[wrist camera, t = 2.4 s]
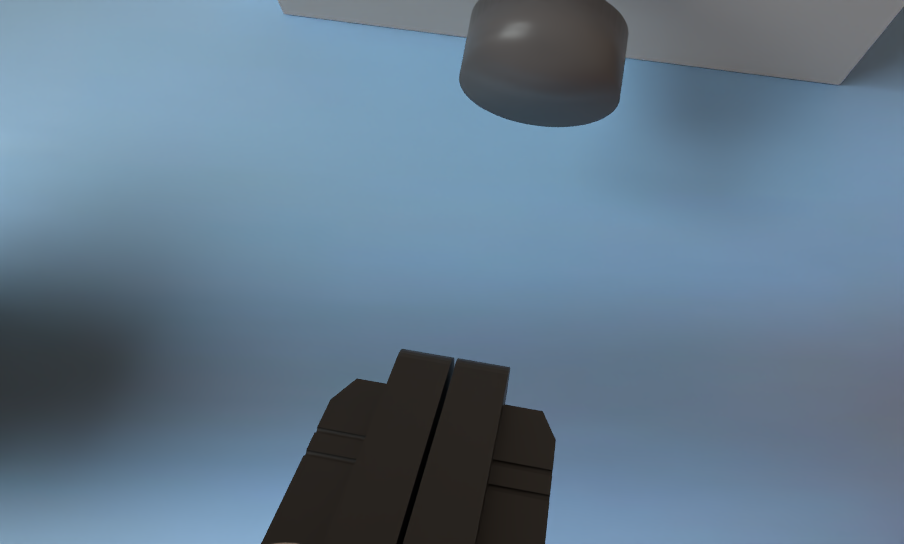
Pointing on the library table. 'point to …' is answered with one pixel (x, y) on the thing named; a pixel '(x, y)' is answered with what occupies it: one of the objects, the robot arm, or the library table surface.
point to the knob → (545, 60)
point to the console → (680, 30)
